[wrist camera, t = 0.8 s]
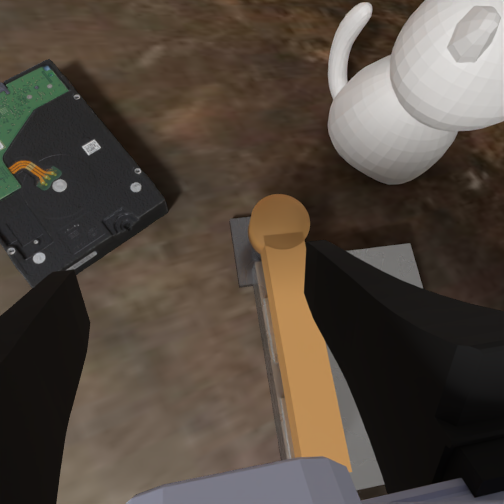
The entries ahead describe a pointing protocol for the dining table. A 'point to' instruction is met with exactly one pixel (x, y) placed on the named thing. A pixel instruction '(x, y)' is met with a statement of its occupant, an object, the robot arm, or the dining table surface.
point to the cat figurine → (417, 87)
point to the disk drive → (64, 178)
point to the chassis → (332, 367)
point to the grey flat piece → (243, 251)
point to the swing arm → (297, 330)
